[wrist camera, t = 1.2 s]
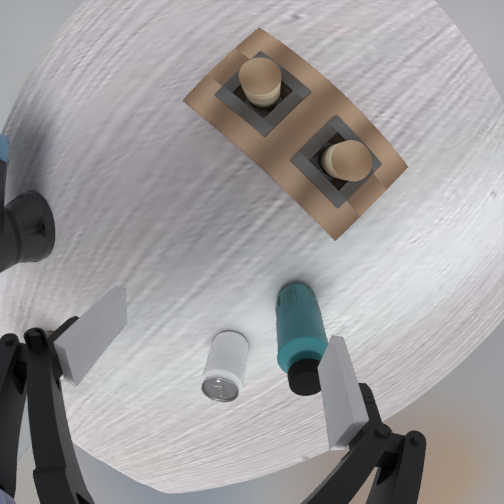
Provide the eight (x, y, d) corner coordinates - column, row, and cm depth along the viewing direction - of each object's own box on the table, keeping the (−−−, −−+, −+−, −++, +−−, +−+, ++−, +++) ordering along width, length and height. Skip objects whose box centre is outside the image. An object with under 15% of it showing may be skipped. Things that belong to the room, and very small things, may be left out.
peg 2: (312, 160, 31) (324, 159, 24) (334, 138, 30) (352, 131, 22) (335, 184, 32) (352, 189, 24) (356, 162, 30) (379, 162, 23)
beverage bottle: (273, 280, 43) (271, 366, 24) (315, 276, 42) (341, 358, 23) (277, 315, 45) (276, 407, 26) (316, 311, 44) (337, 401, 25)
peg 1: (239, 95, 29) (229, 76, 22) (262, 74, 28) (258, 50, 21) (264, 116, 30) (261, 101, 22) (286, 94, 29) (290, 74, 21)
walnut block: (197, 110, 36) (179, 99, 28) (262, 47, 32) (259, 24, 24) (325, 228, 40) (336, 243, 32) (387, 165, 36) (411, 167, 28)
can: (243, 327, 46) (234, 373, 35) (252, 354, 48) (246, 402, 37) (208, 332, 47) (192, 377, 36) (220, 359, 49) (207, 405, 38)
